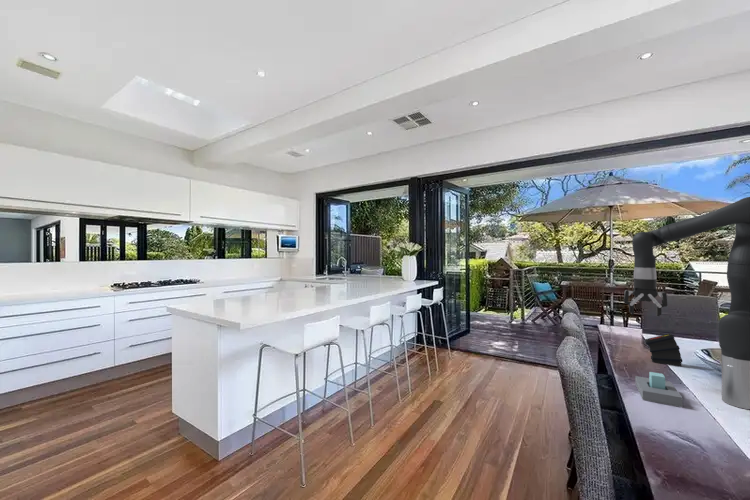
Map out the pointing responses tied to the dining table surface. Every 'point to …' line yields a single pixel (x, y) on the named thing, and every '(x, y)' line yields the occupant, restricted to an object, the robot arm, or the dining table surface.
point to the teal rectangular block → (656, 380)
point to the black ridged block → (664, 350)
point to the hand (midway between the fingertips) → (644, 315)
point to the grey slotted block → (658, 392)
